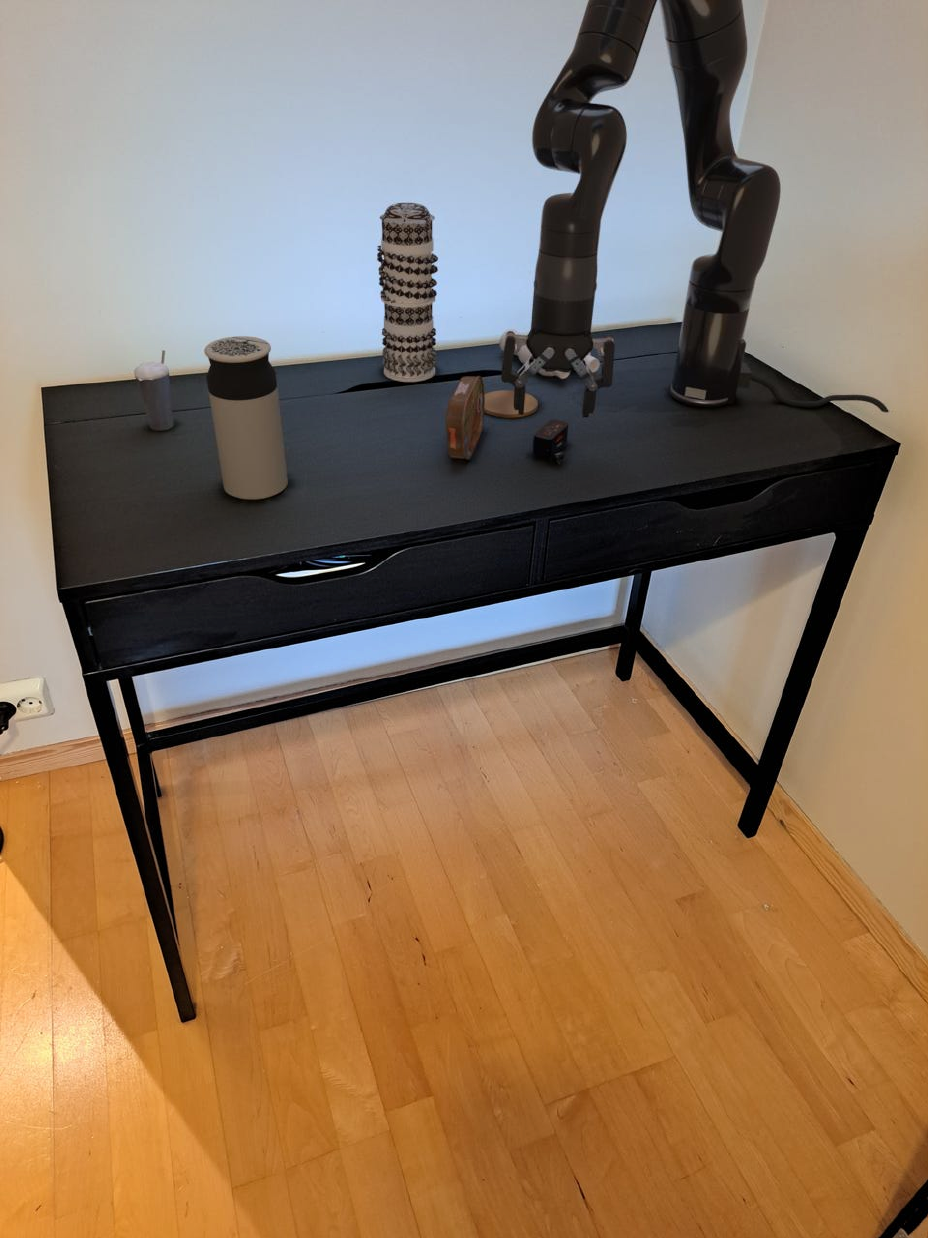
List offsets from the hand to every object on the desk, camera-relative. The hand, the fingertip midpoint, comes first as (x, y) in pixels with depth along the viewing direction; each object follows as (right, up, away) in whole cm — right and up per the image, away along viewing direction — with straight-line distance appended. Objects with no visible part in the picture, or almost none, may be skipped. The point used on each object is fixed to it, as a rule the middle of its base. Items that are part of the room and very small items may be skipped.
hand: (552, 413), depth 119 cm
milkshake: (-55, 0, +9) cm, 55 cm away
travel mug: (-38, -11, -5) cm, 40 cm away
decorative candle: (-21, +13, +26) cm, 36 cm away
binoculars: (+2, +15, +30) cm, 34 cm away
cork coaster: (-5, +5, +16) cm, 18 cm away
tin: (-12, -3, +5) cm, 13 cm away
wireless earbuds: (0, -5, +4) cm, 6 cm away
